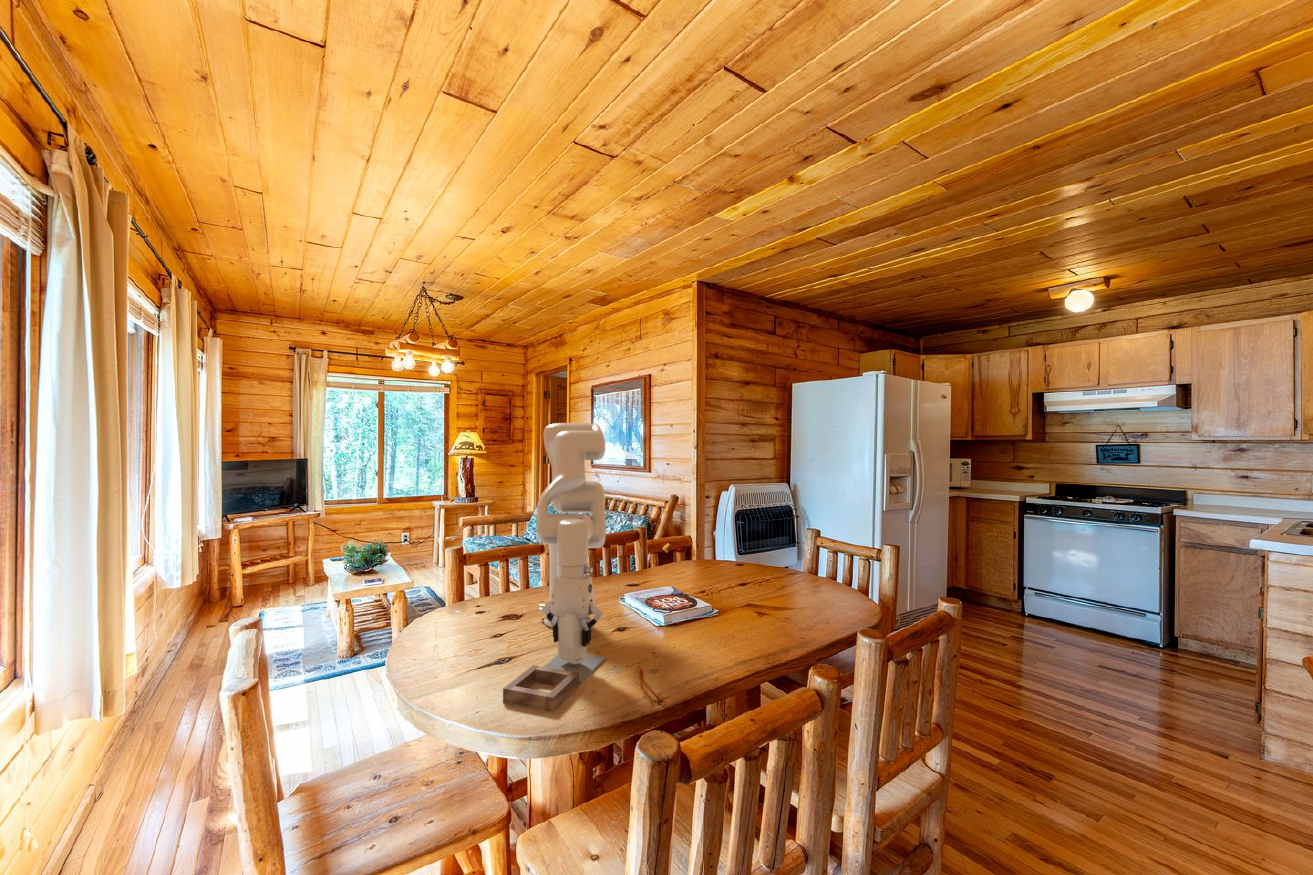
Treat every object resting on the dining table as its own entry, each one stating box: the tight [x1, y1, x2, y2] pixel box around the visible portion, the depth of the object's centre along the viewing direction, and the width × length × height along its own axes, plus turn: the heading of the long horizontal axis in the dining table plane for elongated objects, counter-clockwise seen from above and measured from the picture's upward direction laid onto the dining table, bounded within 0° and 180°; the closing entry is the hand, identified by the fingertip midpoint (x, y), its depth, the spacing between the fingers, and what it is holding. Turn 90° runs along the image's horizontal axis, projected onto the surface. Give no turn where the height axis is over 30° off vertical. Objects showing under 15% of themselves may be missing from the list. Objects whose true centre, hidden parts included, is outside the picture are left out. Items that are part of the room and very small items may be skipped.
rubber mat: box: [542, 653, 607, 685], centre depth 133 cm, size 12×14×1 cm
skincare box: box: [557, 613, 587, 664], centre depth 133 cm, size 6×4×12 cm
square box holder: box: [502, 664, 580, 713], centre depth 119 cm, size 12×12×3 cm
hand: (571, 641), depth 133 cm, fingers closed on skincare box, 7 cm apart
